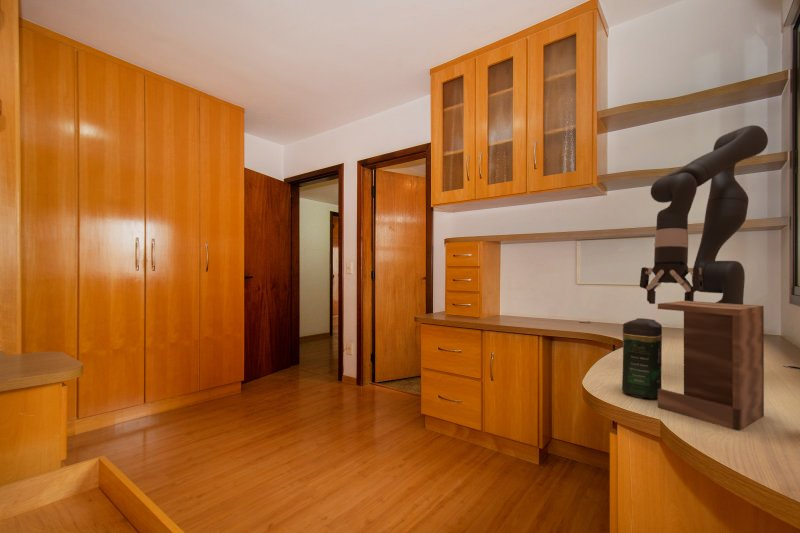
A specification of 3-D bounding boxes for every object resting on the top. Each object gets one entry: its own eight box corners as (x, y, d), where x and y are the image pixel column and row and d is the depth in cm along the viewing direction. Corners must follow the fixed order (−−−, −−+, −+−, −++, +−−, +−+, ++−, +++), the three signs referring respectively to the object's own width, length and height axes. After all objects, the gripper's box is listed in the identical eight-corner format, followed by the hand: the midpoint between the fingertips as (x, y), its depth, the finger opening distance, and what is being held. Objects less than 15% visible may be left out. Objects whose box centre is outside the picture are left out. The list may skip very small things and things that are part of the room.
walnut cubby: (685, 396, 90) (685, 300, 90) (763, 415, 78) (763, 305, 78) (657, 407, 83) (657, 303, 83) (739, 430, 71) (739, 309, 71)
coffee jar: (657, 402, 86) (657, 322, 86) (618, 394, 91) (618, 319, 92) (665, 392, 93) (665, 318, 93) (629, 385, 98) (628, 315, 98)
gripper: (708, 246, 99) (706, 307, 98) (649, 249, 111) (647, 303, 110) (696, 243, 95) (694, 306, 94) (636, 246, 107) (634, 302, 106)
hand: (669, 305), depth 102 cm, fingers open, 8 cm apart
